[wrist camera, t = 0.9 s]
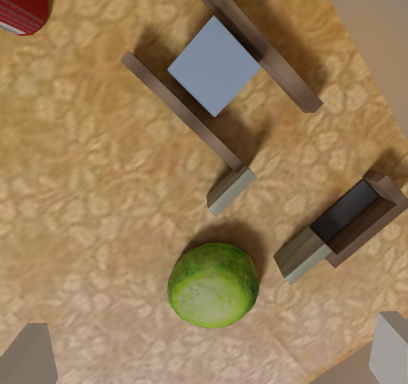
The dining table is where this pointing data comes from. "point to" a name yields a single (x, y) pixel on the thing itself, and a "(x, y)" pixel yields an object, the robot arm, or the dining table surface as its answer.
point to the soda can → (23, 16)
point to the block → (214, 67)
